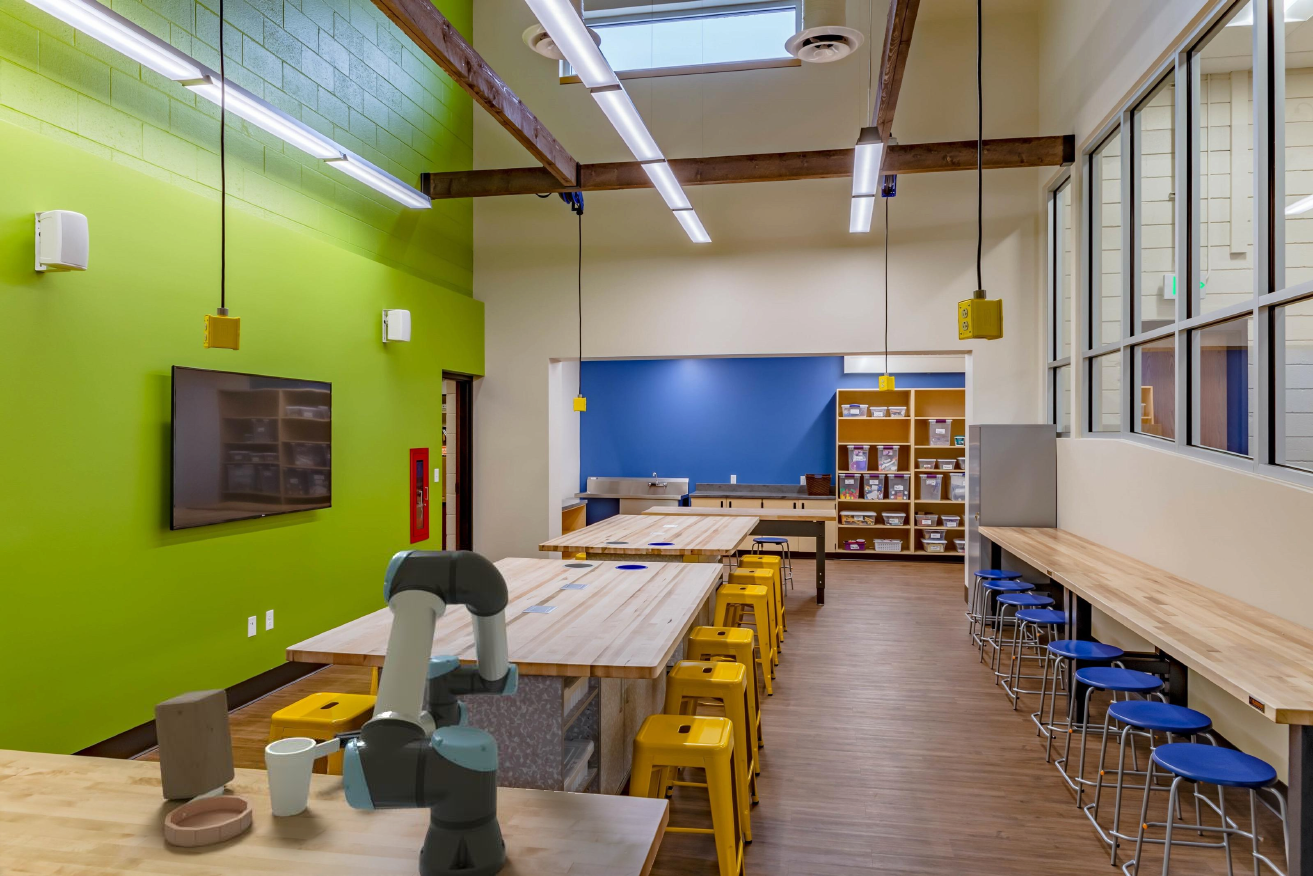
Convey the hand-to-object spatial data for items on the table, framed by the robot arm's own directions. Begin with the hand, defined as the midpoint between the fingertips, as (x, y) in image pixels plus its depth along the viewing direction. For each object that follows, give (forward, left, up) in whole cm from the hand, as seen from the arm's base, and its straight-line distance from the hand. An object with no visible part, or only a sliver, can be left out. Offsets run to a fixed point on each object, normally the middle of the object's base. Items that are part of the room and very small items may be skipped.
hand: (331, 760), depth 171 cm
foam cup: (0, +10, -7) cm, 12 cm away
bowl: (+5, +23, -7) cm, 25 cm away
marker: (+16, +18, -7) cm, 25 cm away
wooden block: (+22, +16, -6) cm, 28 cm away
